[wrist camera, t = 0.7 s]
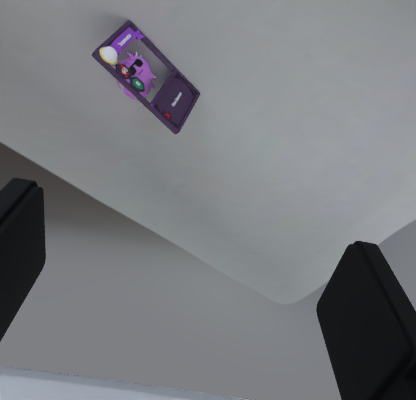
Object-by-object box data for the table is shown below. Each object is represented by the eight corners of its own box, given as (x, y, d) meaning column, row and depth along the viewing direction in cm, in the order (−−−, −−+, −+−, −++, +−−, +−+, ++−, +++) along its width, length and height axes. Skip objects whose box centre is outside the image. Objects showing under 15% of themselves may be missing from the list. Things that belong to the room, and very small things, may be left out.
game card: (184, 128, 31) (97, 45, 28) (148, 156, 34) (67, 85, 31) (205, 89, 35) (133, 13, 32) (172, 117, 39) (104, 51, 35)
